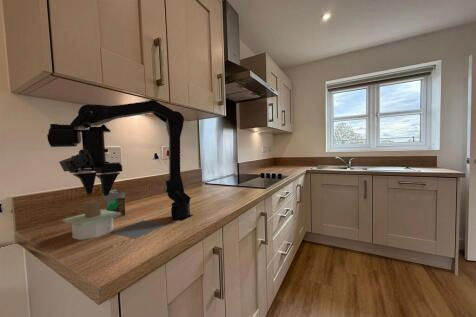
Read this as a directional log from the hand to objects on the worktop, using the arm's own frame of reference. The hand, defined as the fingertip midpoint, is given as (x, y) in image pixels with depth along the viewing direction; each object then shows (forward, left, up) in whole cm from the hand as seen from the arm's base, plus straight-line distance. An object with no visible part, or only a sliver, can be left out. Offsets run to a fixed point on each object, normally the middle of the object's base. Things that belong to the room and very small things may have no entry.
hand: (97, 194), depth 64 cm
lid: (+1, 0, -7) cm, 7 cm away
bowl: (+1, 0, -12) cm, 12 cm away
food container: (-13, -13, -13) cm, 22 cm away
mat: (-7, +11, -12) cm, 17 cm away
